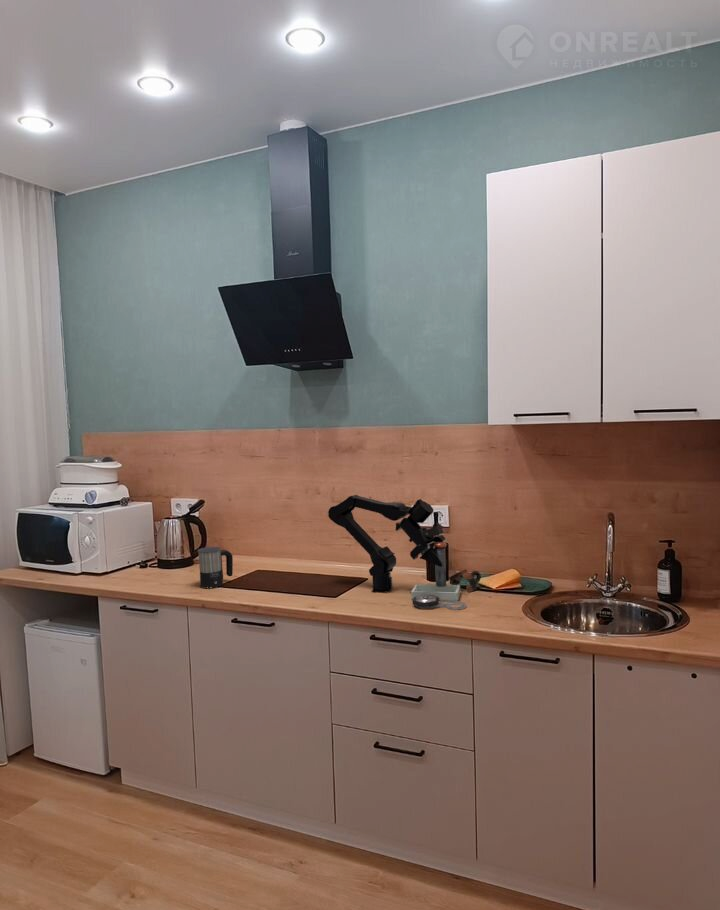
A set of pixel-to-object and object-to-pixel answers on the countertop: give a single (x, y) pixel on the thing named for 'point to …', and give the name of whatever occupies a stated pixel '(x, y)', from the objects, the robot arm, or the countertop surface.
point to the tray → (437, 591)
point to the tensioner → (435, 603)
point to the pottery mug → (467, 576)
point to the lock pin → (442, 570)
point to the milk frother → (213, 566)
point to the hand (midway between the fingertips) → (444, 564)
